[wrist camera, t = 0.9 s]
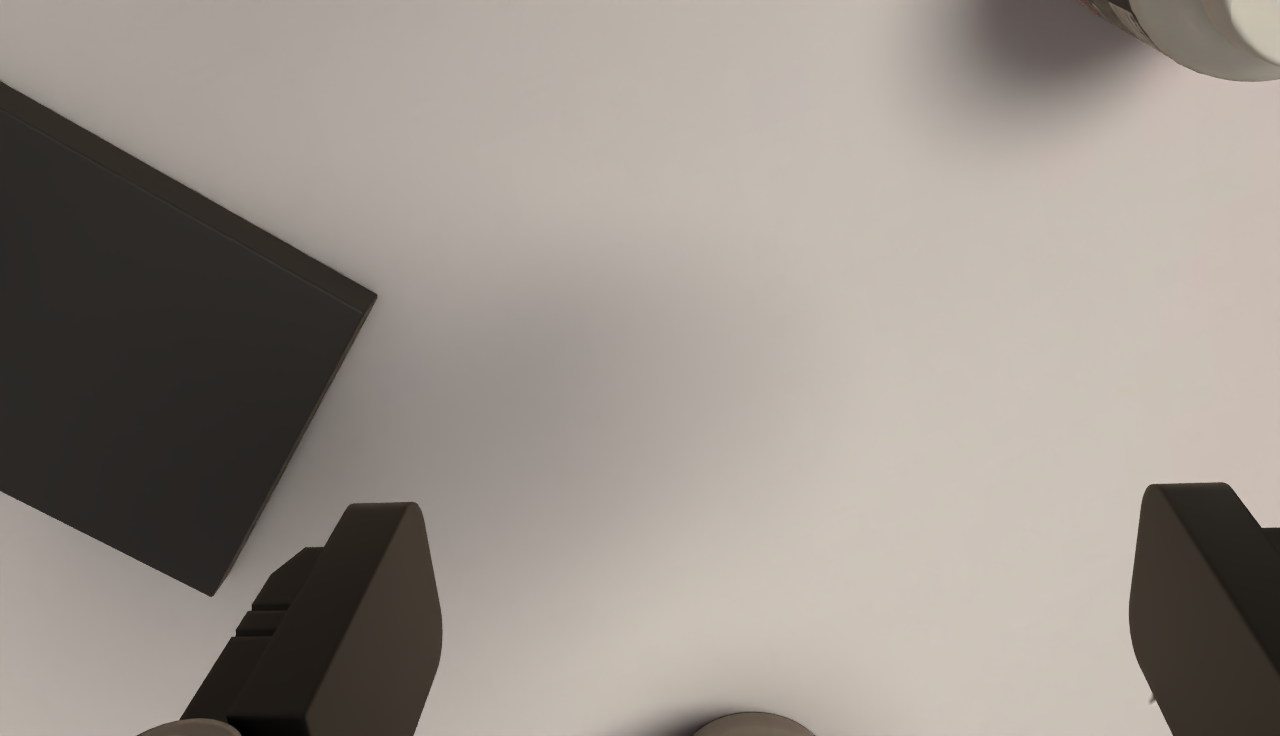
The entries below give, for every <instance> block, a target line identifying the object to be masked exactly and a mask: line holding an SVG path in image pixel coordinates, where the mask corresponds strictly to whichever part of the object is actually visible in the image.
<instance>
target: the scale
mask: <svg viewBox="0 0 1280 736" xmlns="http://www.w3.org/2000/svg"><path fill="white" fill-rule="evenodd" d="M376 299H377V295H376V294H375V293H373V292H372V291H370V290H368V289H366V288H364V287H363V286H361V285H359V284H357V283H356V282H354V281H352V280H350V279H349V278H347V277H345V276H343V275H341V274H340V273H338V272H336V271H334V270H333V269H331V268H329V267H327V266H326V265H324V264H322V263H320V262H318V261H317V260H315V259H313V258H311V257H310V256H308V255H306V254H304V253H303V252H301V251H299V250H297V249H295V248H294V247H292V246H290V245H288V244H287V243H285V242H283V241H281V240H280V239H278V238H276V237H274V236H272V235H271V234H269V233H267V232H265V231H264V230H262V229H260V228H258V227H257V226H255V225H253V224H251V223H249V222H248V221H246V220H244V219H242V218H241V217H239V216H237V215H235V214H234V213H232V212H230V211H228V210H226V209H225V208H223V207H221V206H219V205H218V204H216V203H214V202H212V201H211V200H209V199H207V198H205V197H203V196H202V195H200V194H198V193H196V192H195V191H193V190H191V189H189V188H188V187H186V186H184V185H182V184H180V183H179V182H177V181H175V180H173V179H172V178H170V177H168V176H166V175H165V174H163V173H161V172H159V171H157V170H156V169H154V168H152V167H150V166H149V165H147V164H145V163H143V162H142V161H140V160H138V159H136V158H134V157H133V156H131V155H129V154H127V153H126V152H124V151H122V150H120V149H119V148H117V147H115V146H113V145H111V144H110V143H108V142H106V141H104V140H103V139H101V138H99V137H97V136H96V135H94V134H92V133H90V132H88V131H87V130H85V129H83V128H81V127H80V126H78V125H76V124H74V123H73V122H71V121H69V120H67V119H65V118H64V117H62V116H60V115H58V114H57V113H55V112H53V111H51V110H50V109H48V108H46V107H44V106H42V105H41V104H39V103H37V102H35V101H34V100H32V99H30V98H28V97H27V96H25V95H23V94H21V93H19V92H18V91H16V90H14V89H12V88H11V87H9V86H7V85H5V84H4V83H2V82H0V491H1V492H3V493H5V494H7V495H9V496H11V497H13V498H15V499H17V500H19V501H21V502H23V503H25V504H27V505H29V506H31V507H33V508H35V509H37V510H39V511H41V512H43V513H45V514H47V515H49V516H51V517H53V518H55V519H57V520H59V521H61V522H63V523H65V524H67V525H69V526H71V527H73V528H75V529H77V530H79V531H81V532H83V533H85V534H87V535H89V536H91V537H93V538H95V539H97V540H99V541H101V542H103V543H105V544H107V545H109V546H111V547H113V548H115V549H117V550H119V551H121V552H123V553H125V554H127V555H129V556H131V557H133V558H135V559H136V560H138V561H140V562H142V563H144V564H146V565H148V566H150V567H152V568H154V569H156V570H158V571H160V572H162V573H164V574H166V575H168V576H170V577H172V578H174V579H176V580H178V581H180V582H182V583H184V584H186V585H188V586H190V587H192V588H194V589H196V590H198V591H200V592H202V593H204V594H206V595H208V596H210V597H212V596H214V595H215V593H216V592H217V590H218V589H219V587H220V586H221V584H222V583H223V581H224V580H225V578H226V577H227V575H228V574H229V572H230V570H231V569H232V567H233V565H234V563H235V561H236V559H237V557H238V556H239V554H240V552H241V550H242V548H243V546H244V544H245V543H246V541H247V539H248V537H249V535H250V533H251V531H252V530H253V528H254V526H255V524H256V522H257V520H258V518H259V517H260V515H261V513H262V511H263V509H264V507H265V505H266V504H267V502H268V500H269V498H270V496H271V494H272V492H273V491H274V489H275V487H276V485H277V483H278V481H279V479H280V478H281V476H282V474H283V472H284V470H285V468H286V466H287V465H288V463H289V461H290V459H291V457H292V455H293V453H294V451H295V450H296V448H297V446H298V444H299V442H300V440H301V438H302V437H303V435H304V433H305V431H306V429H307V427H308V425H309V424H310V422H311V420H312V418H313V416H314V414H315V412H316V411H317V409H318V407H319V405H320V403H321V401H322V399H323V398H324V396H325V394H326V392H327V390H328V388H329V386H330V385H331V383H332V381H333V379H334V377H335V375H336V373H337V372H338V370H339V368H340V366H341V364H342V362H343V360H344V359H345V357H346V355H347V353H348V351H349V349H350V347H351V346H352V344H353V342H354V340H355V338H356V336H357V334H358V332H359V331H360V329H361V327H362V325H363V323H364V321H365V319H366V318H367V316H368V314H369V312H370V310H371V308H372V306H373V305H374V303H375V301H376Z"/></svg>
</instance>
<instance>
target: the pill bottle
mask: <svg viewBox="0 0 1280 736" xmlns="http://www.w3.org/2000/svg"><path fill="white" fill-rule="evenodd" d="M1079 1H1080V2H1081V3H1082V4H1083V5H1085V6H1086V7H1087V8H1088V9H1089V10H1091V11H1093V12H1094V13H1096V14H1097V15H1098V16H1100V17H1102V18H1104V19H1106V20H1107V21H1109V22H1111V23H1113V24H1115V25H1116V26H1118V27H1119V28H1121V29H1123V30H1124V31H1126V32H1128V33H1130V34H1131V35H1133V36H1135V37H1137V38H1138V39H1140V40H1141V41H1143V42H1145V43H1146V44H1148V45H1150V46H1152V47H1153V48H1155V49H1156V50H1158V51H1160V52H1162V53H1163V54H1164V55H1166V56H1168V57H1169V58H1171V59H1173V60H1174V61H1175V62H1177V63H1178V64H1180V65H1183V66H1185V67H1187V68H1189V69H1191V70H1193V71H1196V72H1198V73H1201V74H1206V75H1209V76H1212V77H1216V78H1221V79H1226V80H1232V81H1249V82H1257V81H1269V80H1276V79H1280V0H1079Z"/></svg>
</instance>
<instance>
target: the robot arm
mask: <svg viewBox="0 0 1280 736" xmlns="http://www.w3.org/2000/svg"><path fill="white" fill-rule="evenodd" d="M1129 625H1130V633H1131V639H1132V644H1133V648H1134V652H1135V655H1136V658H1137V661H1138V663H1139V666H1140V668H1141V670H1142V672H1143V674H1144V676H1145V678H1146V680H1147V682H1148V684H1149V686H1150V688H1151V691H1152V693H1153V695H1154V697H1155V699H1156V701H1157V703H1158V705H1159V707H1160V709H1161V711H1162V713H1163V716H1164V718H1165V720H1166V722H1167V724H1168V726H1169V728H1170V730H1171V732H1172V734H1173V736H1280V528H1261V526H1260V525H1259V524H1258V522H1257V521H1256V520H1255V518H1254V517H1253V516H1252V514H1251V513H1250V512H1249V510H1248V509H1247V508H1246V506H1245V505H1244V504H1243V502H1242V501H1241V500H1240V498H1239V497H1238V496H1237V494H1236V493H1235V492H1234V490H1233V489H1232V488H1231V487H1230V486H1229V485H1228V484H1226V483H1223V482H1217V483H1179V484H1152V485H1149V486H1148V487H1147V489H1146V490H1145V493H1144V495H1143V499H1142V504H1141V511H1140V519H1139V528H1138V536H1137V544H1136V552H1135V560H1134V568H1133V576H1132V584H1131V592H1130V601H1129ZM441 648H442V615H441V608H440V603H439V598H438V592H437V587H436V581H435V576H434V571H433V565H432V560H431V555H430V549H429V544H428V538H427V533H426V528H425V522H424V518H423V514H422V511H421V509H420V507H419V506H418V504H417V503H415V502H393V503H355V504H350V505H349V506H348V507H347V509H346V510H345V512H344V513H343V515H342V517H341V518H340V520H339V522H338V524H337V525H336V527H335V529H334V531H333V532H332V534H331V536H330V537H329V539H328V541H327V543H326V544H325V546H324V547H305V548H304V549H303V550H301V551H300V552H299V553H298V554H296V555H295V556H294V557H292V558H291V559H290V560H289V561H287V562H286V563H285V564H284V565H282V566H281V567H280V568H279V569H277V570H276V571H275V572H273V573H272V574H271V575H270V577H269V578H268V580H267V581H266V583H265V585H264V586H263V588H262V589H261V591H260V593H259V594H258V596H257V597H256V599H255V600H254V602H253V604H252V610H251V611H248V612H247V613H246V615H245V616H244V618H243V620H242V621H241V623H240V624H239V626H238V627H237V629H236V636H235V637H231V639H230V640H229V642H228V643H227V645H226V647H225V648H224V650H223V651H222V653H221V654H220V656H219V658H218V659H217V661H216V662H215V664H214V666H213V667H212V669H211V670H210V672H209V674H208V675H207V677H206V678H205V680H204V681H203V683H202V685H201V686H200V688H199V689H198V691H197V693H196V694H195V696H194V697H193V699H192V700H191V702H190V704H189V705H188V707H187V708H186V710H185V712H184V713H183V715H182V716H181V718H180V720H179V721H174V722H170V723H166V724H163V725H160V726H157V727H155V728H152V729H149V730H147V731H145V732H143V733H141V734H139V735H137V736H413V735H414V733H415V730H416V727H417V724H418V721H419V719H420V716H421V713H422V710H423V708H424V705H425V702H426V699H427V696H428V694H429V691H430V688H431V685H432V683H433V680H434V677H435V674H436V671H437V668H438V665H439V661H440V656H441Z"/></svg>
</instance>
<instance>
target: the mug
mask: <svg viewBox="0 0 1280 736" xmlns="http://www.w3.org/2000/svg"><path fill="white" fill-rule="evenodd" d="M693 736H815V735H814V734H812V733H811V732H810V731H809V730H808V729H806V728H805V727H803V726H802V725H800V724H798V723H796V722H794V721H792V720H790V719H787V718H784V717H781V716H777V715H773V714H767V713H756V712H754V713H739V714H733V715H729V716H725V717H722V718H719V719H717V720H715V721H712V722H711V723H709V724H707V725H705V726H704V727H702V728H701V729H700V730H699V731H697V732H696V733H695V734H694V735H693Z"/></svg>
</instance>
